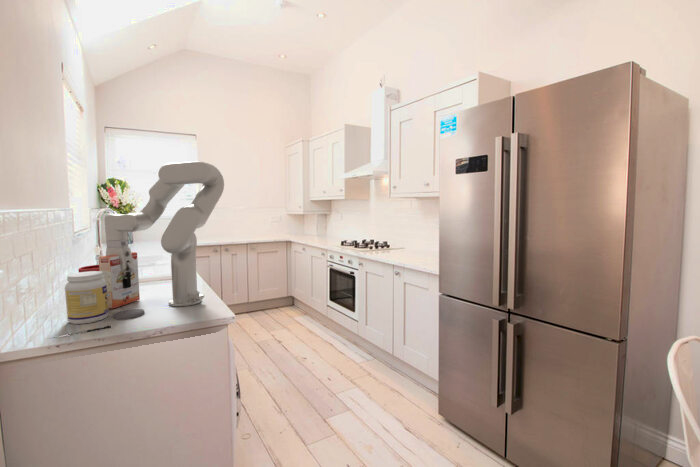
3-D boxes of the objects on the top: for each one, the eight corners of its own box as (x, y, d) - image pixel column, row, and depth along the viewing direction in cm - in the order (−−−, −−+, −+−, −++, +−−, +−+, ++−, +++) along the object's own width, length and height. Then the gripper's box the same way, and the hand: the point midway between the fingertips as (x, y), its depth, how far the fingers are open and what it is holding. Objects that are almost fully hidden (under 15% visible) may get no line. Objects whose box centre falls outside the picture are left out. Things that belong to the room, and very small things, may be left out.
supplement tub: (113, 318, 132) (110, 273, 131) (71, 327, 123) (68, 278, 122) (103, 312, 141) (100, 269, 139) (63, 319, 132) (60, 274, 130)
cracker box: (114, 309, 144) (110, 256, 142) (101, 308, 145) (97, 256, 143) (141, 299, 157) (137, 251, 155) (129, 299, 158) (125, 251, 156)
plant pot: (112, 286, 184) (111, 262, 183) (113, 291, 173) (111, 266, 172) (80, 289, 177) (79, 265, 176) (79, 295, 166) (77, 269, 165)
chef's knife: (38, 340, 114) (37, 342, 111) (37, 337, 114) (37, 339, 111) (110, 326, 126) (111, 328, 123) (110, 323, 126) (111, 325, 123)
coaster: (150, 312, 140) (150, 309, 140) (127, 320, 130) (127, 317, 130) (130, 310, 143) (130, 307, 143) (106, 318, 133) (106, 315, 133)
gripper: (141, 243, 150) (144, 286, 151) (110, 242, 155) (113, 284, 157) (125, 245, 142) (128, 290, 144) (92, 245, 148) (96, 288, 149)
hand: (120, 286), depth 150 cm, fingers closed on cracker box, 6 cm apart
